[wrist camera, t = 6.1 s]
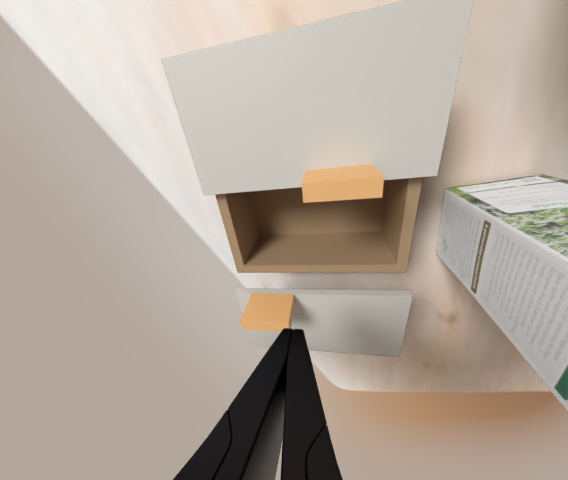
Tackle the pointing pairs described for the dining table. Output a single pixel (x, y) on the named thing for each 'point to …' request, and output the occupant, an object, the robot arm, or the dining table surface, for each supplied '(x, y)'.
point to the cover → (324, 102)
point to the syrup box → (515, 264)
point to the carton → (321, 230)
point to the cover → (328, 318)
